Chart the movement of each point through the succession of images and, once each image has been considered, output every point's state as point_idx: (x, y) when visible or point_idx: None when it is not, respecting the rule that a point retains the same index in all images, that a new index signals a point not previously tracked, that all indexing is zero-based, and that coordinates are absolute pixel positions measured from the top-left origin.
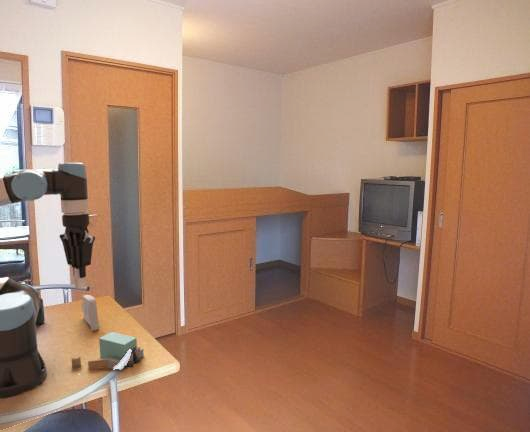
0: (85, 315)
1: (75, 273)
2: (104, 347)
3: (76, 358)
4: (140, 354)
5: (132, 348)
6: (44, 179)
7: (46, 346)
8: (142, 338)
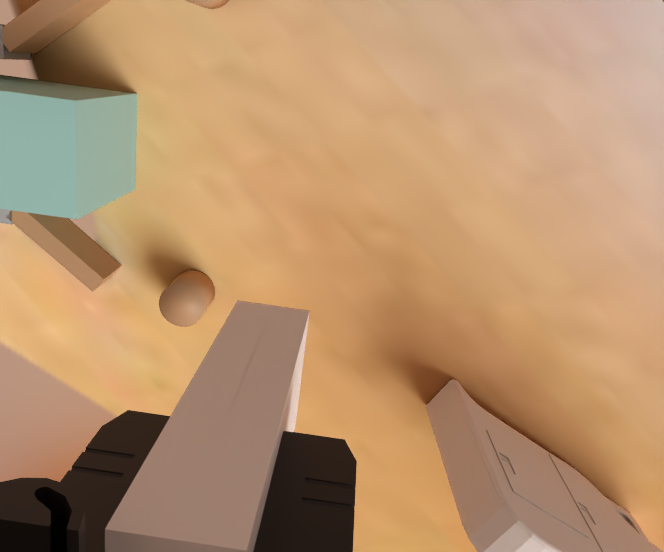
0: (581, 489)
1: (229, 445)
2: (56, 91)
3: None
4: None
5: None
6: None
7: (585, 131)
8: (104, 372)
